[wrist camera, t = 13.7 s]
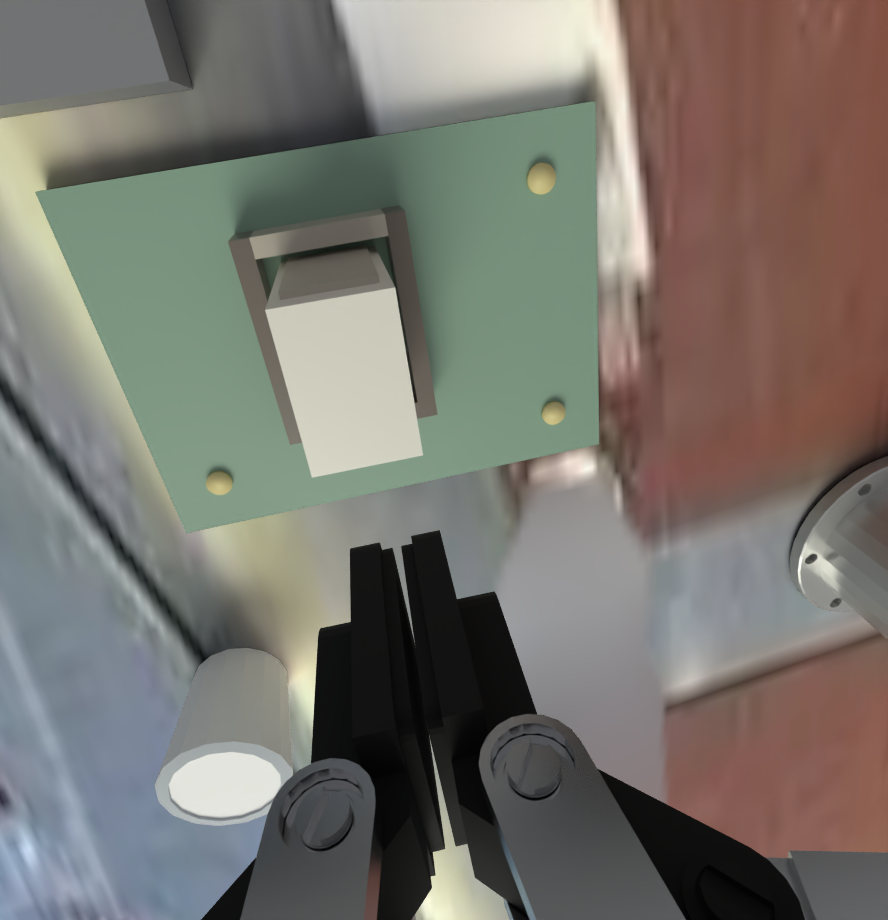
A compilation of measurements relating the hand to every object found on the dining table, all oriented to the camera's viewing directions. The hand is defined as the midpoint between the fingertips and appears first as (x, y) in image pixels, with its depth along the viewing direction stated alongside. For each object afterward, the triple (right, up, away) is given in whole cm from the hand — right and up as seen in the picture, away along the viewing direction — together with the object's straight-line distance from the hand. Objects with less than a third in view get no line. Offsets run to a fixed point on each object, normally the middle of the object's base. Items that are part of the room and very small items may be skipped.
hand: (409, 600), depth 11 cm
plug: (-4, +9, +15) cm, 18 cm away
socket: (-4, +9, +15) cm, 18 cm away
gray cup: (-12, -11, +26) cm, 31 cm away
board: (-3, +9, +17) cm, 19 cm away
